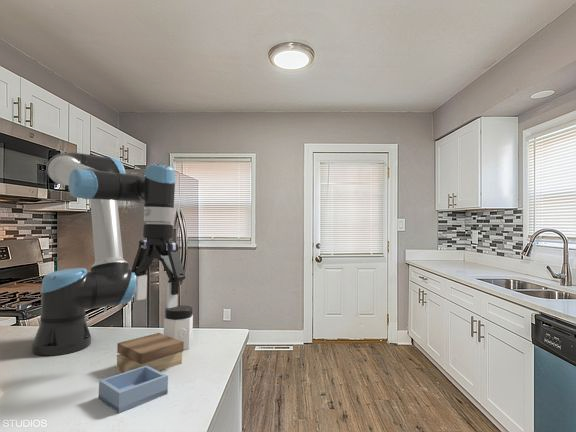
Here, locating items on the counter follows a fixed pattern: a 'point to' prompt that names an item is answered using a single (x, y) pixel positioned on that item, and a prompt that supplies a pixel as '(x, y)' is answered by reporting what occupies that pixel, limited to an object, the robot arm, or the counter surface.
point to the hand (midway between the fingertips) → (155, 303)
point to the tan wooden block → (148, 363)
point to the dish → (132, 388)
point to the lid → (150, 348)
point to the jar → (179, 324)
